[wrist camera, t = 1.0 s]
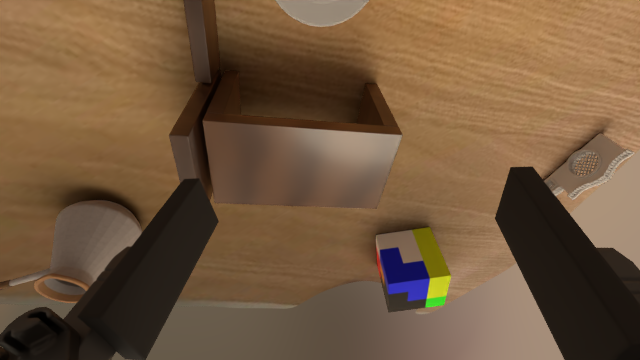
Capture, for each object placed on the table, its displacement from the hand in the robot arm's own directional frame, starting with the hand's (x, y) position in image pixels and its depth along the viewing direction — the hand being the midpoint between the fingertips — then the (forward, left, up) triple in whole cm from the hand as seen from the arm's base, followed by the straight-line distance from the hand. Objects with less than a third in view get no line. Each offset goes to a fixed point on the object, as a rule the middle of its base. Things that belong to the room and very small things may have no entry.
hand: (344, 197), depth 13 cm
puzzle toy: (+21, -37, -26) cm, 50 cm away
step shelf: (-2, -1, -25) cm, 26 cm away
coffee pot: (-35, -31, -26) cm, 53 cm away
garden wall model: (+42, -15, -26) cm, 51 cm away
